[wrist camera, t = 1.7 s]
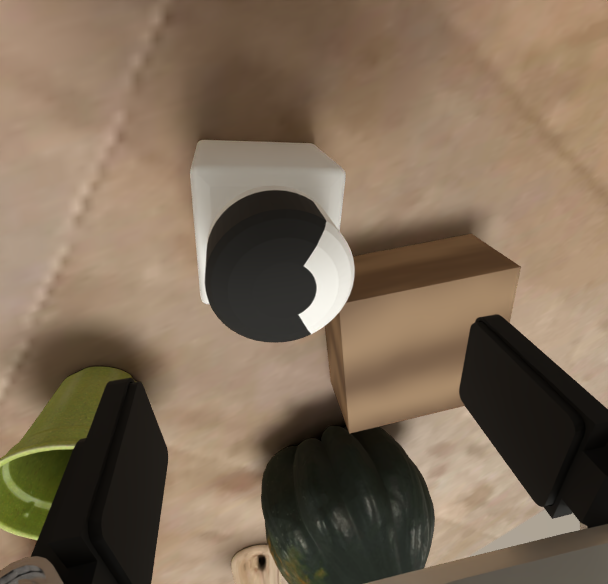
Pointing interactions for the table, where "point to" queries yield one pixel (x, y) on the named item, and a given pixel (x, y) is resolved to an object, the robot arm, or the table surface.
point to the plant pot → (49, 451)
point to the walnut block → (413, 327)
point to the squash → (346, 509)
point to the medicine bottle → (270, 237)
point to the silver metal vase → (255, 566)
